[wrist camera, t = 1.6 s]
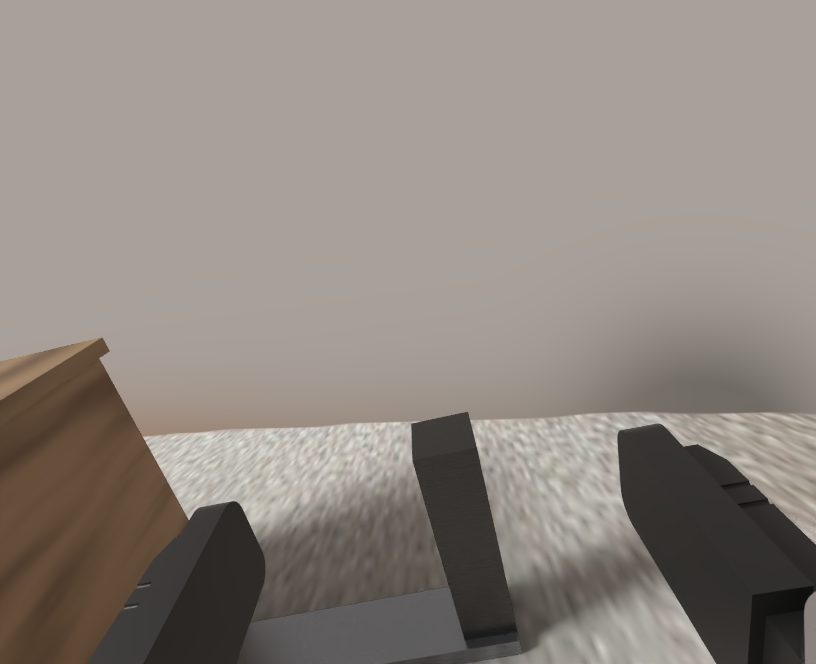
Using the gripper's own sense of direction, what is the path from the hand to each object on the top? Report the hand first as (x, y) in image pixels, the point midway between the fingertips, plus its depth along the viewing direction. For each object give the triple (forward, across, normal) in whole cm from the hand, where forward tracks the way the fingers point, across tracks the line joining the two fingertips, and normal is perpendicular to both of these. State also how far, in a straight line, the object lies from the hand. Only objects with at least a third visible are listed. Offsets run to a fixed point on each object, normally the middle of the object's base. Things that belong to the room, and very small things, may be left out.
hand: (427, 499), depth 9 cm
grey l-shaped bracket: (+11, +9, +20) cm, 25 cm away
